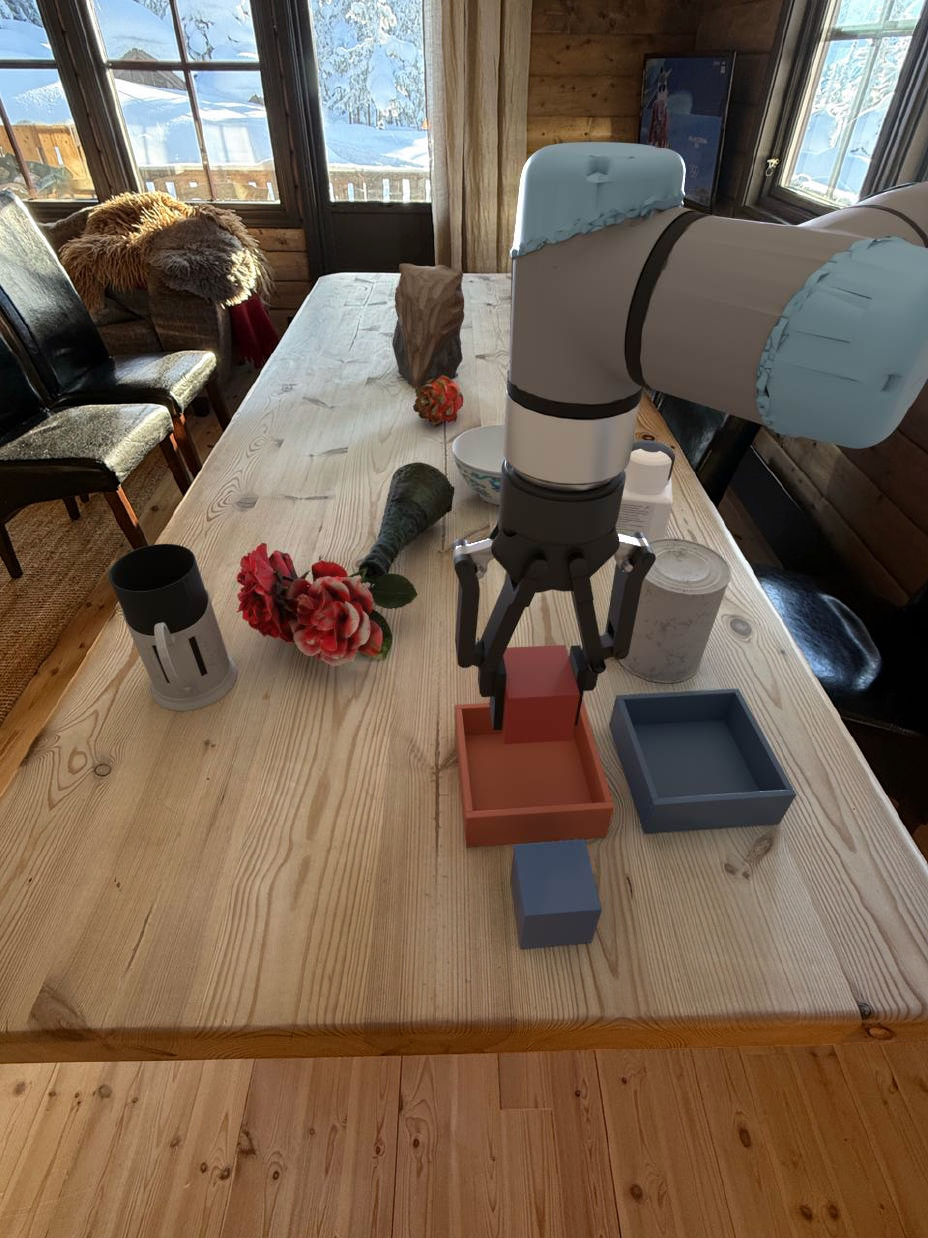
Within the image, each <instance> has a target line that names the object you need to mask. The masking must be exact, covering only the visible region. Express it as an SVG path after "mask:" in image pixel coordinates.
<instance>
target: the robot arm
mask: <svg viewBox="0 0 928 1238" xmlns="http://www.w3.org/2000/svg"><path fill="white" fill-rule="evenodd" d="M685 179H686V165H685V162H684V159H683V157H682V156H681V155H680V154H679V153H678V152H677V151H675V150H672V149H670V148H665V147H656V146H654V145H648V144H643V143H642V144H641V143H630V142H614V141H613V142H611V141H610V142H609V141H584V142H583V141H581V142H579V141H578V142H577V141H575V142H563V143H562V142H561V143H556V144H555V143H554V144H551V145H546V146H544V147H542V148H540V149H538V150H536V151H535V152H533V154H532V155H531V156H530V157H529V158H528V159H527V161H526V163H525V164H524V166H523V169H522V172H521V176H520V182H519V190H518V201H517V209H516V210H517V211H516V219H515V228H514V238H513V244H512V248H511V249H510V252H509V260H511V263H510V264H511V266H510V268H511V273H510V316H509V317H510V321H509V322H510V323H509V363H508V364H509V365H508V366H509V367H508V370H507V372H506V375H507V378H506V391H505V392H506V393H505V405H504V407H505V408H504V422H503V423H504V424H503V425H504V435H503V455H504V457H505V459H504V460H503V463H502V467H501V483H500V501H499V505H498V517H497V522H496V524H495V526H494V527H493V528H492V530H491V531H490V535H489V538H487V539H483V540H480V541H477V542H474V543H471V544H470V543H469V541H468V540H466V539H464V538H458V539H456V540H454V541H453V542H452V544H451V551H452V561H453V566H454V572H455V576H456V578H457V580H458V586H457V602H456V619H455V633H454V634H455V636H454V643H455V651H456V652H455V653H456V661H457V666H459V667H460V668H463V669H468V668H471V667H472V666H474V667H477V685H478V691H479V695H480V697H481V698H489V702H488V703H489V707H490V713H491V720H492V726H493V730H502V723H503V710H504V697H505V686H506V677H507V673H506V667H505V662H504V657H503V655H504V653H505V650H506V648H508V646H509V644H510V642H511V640H512V637H513V636H514V633H515V631H516V629H517V626H518V624H519V622H520V620H521V618H522V615H523V614H524V612H525V609H526V608H529V607H530V606H531V603H532V601H533V599H534V597H535V595H536V594H540V593H545V592H549V591H558V592H563V593H564V592H565V593H567V592H570V595H571V601H572V604H573V609H574V613H575V618H576V624H577V629H578V633H579V638H580V642H581V645H582V646H581V645H580V644H577V645H570V648H569V653H568V655H569V658H570V662H571V665H572V669H573V672H574V676H575V679H576V683H577V686H578V690H579V693H580V697H579V703H578V708H577V713H576V718H575V723H574V725H577V724H578V719H579V714H580V709H581V704H582V699H583V697H584V693H585V692H591V691H594V690H595V688H596V687H597V684H598V679H599V675H600V674H603V673H604V672H606V670H607V664H606V660H608V659H610V658H614V660H618V661H619V660H621V659H624V658H626V657H627V656H628V654H629V650H630V644H631V639H632V634H633V629H634V624H635V619H636V613H637V608H638V603H639V598H640V593H641V588H642V583H643V580H644V578H645V577H646V575H647V574H648V572H649V570H650V569H651V567H652V566H653V564H654V562H655V560H656V556H655V554H654V552H653V550H652V548H651V546H650V544H649V542H648V540H647V538H646V536H645V535H644V534H643V533H641V532H636V533H633V534H632V535H631V536H630V537H628V536H624V535H620V534H618V533H617V531H616V523H617V521H618V516H619V511H620V506H621V501H622V496H623V490H624V485H625V480H626V473H625V470H624V469H626V468H627V466H628V463H629V461H630V456H631V451H632V445H633V442H634V440H635V434H636V428H637V422H638V417H639V411H640V407H641V406H640V405H641V402H642V401H641V400H642V398H643V391H644V388H645V389H647V390H651V391H657V392H661V393H664V394H666V395H670V396H672V397H676V398H679V399H682V400H685V401H688V402H691V403H694V404H697V405H700V406H704V407H707V408H710V409H713V410H716V411H718V412H722V413H726V414H728V415H731V416H735V417H738V418H740V419H744V420H746V421H750V422H753V423H755V424H758V425H762V426H764V427H767V428H768V429H770V430H773V432H775V434H779V435H782V436H787V437H790V438H805V439H809V440H814V441H817V442H818V441H819V442H823V443H827V444H831V445H836V446H840V447H844V448H848V449H856V450H857V449H866V448H870V447H873V446H876V445H877V444H879V443H881V442H883V441H884V440H886V439H887V438H888V437H889V436H891V435H892V434H893V433H894V431H895V430H897V428H898V426H899V425H900V424H901V422H902V420H903V419H904V417H905V416H906V414H907V412H908V410H909V408H911V407H912V406H913V404H914V402H915V401H916V399H917V398H918V396H919V394H920V392H921V390H922V389H923V387H924V386H925V384H926V382H927V380H928V180H926V181H922V182H916V181H913V182H906V183H904V184H899V185H896V186H892V187H888V188H886V189H883V190H879V191H877V192H874V193H871V194H869V195H866V196H864V197H862V198H861V199H860V200H858V201H857V202H855V203H854V204H851V205H850V206H847V207H843V208H839V209H836V210H834V211H832V212H829V213H826V214H824V215H821V216H817V217H815V218H813V219H810V220H808V221H804V222H802V223H799V224H797V225H791V224H781V223H780V224H779V223H772V222H765V221H763V222H762V221H757V220H748V219H740V218H731V217H724V216H715V215H712V214H709V213H703V212H699V211H698V210H696V209H691V208H686V207H684V205H685V204H684V202H683V201H684V198H685V197H686V193H685ZM612 557H613V558H614V560H615V566H614V567H615V568H614V574H613V579H612V586H611V591H610V592H611V593H610V599H609V605H608V610H607V611H608V612H607V618H606V624H605V632H604V634H603V633H602V634H600V630H599V625H598V620H597V619H598V618H597V614H596V609H595V604H594V603H595V602H594V599H595V598H594V594H593V593H594V592H593V588H592V582H591V578H592V576H594V575H595V574H596V573H597V572H598V571H599V570H600V569H601V568H602V567H603V566H604V565H605V564H606V563H607V562H608V561H609V560H610V559H611V558H612ZM494 559H495V561H497V563H498V564H499V565H500V566H501V567H502V568H503V570H505V575H504V583H503V585H502V587H501V590H500V592H499V595H498V597H497V599H496V601H495V604H494V606H493V609H492V612H491V613H490V616H489V619H488V620H487V623H486V625H485V627H484V630H483V633H482V635H481V638H480V637H477V630H478V619H479V610H480V609H479V608H480V598H481V588H480V581H479V580H482V579H483V578H484V577H485V574H486V573H487V572H488V564H489V563H490V561H492V560H494Z"/></svg>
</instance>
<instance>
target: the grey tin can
mask: <svg viewBox="0 0 928 1238" xmlns="http://www.w3.org/2000/svg"><path fill="white" fill-rule="evenodd" d="M649 544H650V546H651V548H652V550H653V552H654V554H655V556H656V560H655V562H654V564H653V566H652V567H651V569H650V570H649V572H648V574H647V575H646V577H645V578H644V580H643V583H642V588H641V593H640V598H639V603H638V608H637V613H636V619H635V624H634V629H633V634H632V639H631V644H630V650H629V654H628V656H627V657H626V658H624V659H621V660H618V662H619V663H620V665H621V666H623V668H625V669H626V670H627V671H628V672H630V674H632V675H634V676H636V677H638V678H640V679H643V680H646V681H648V682H652V683H658V684H677V683H682V682H684V681H687V680H689V679H691V678H692V677H693V676H694V675H696V674H697V673H698V671H699V669H700V668H701V664H702V659H703V656H704V652H705V650H706V648H707V645H708V642H709V639H710V636H711V634H712V631H713V627H714V624H715V622H716V619H717V616H718V613H719V610H720V607H721V605H722V601H723V599H724V596H725V593H726V590H727V587H728V584H729V583H730V581H731V578H732V570H731V566H730V564H729V562H728V561H727V559H726V558H724V557H723V555H722V554H720V552H718V551H716V550H715V549H713V548H711V547H710V546H707V545H706V544H703V543H700V542H697V541H694V540H690V539H685V538H676V537H664V538H662V539H655V540H652V541H649Z"/></svg>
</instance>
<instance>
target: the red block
mask: <svg viewBox="0 0 928 1238" xmlns="http://www.w3.org/2000/svg"><path fill="white" fill-rule="evenodd" d="M503 657H504V662H505V667H506V673H507V677H506V686H505V697H504V710H503V723H502V735H503V742H504V744H518V743H535V742H552V741H570V740H571V739H572V734H573V729H574V723H575V718H576V713H577V708H578V703H579V697H580V693H579V690H578V686H577V683H576V679H575V676H574V672H573V669H572V665H571V662H570V658H569V651H568V647H567V645H566V644H551V645H533V646H532V645H531V646H512V647H511V646H509V647H508V646H507V648H506V650H505V653H504V655H503Z"/></svg>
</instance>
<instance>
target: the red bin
mask: <svg viewBox="0 0 928 1238" xmlns="http://www.w3.org/2000/svg"><path fill="white" fill-rule="evenodd" d="M454 739H455V741H454V742H455V749H456V761H457V762H456V763H457V770H458V771H457V772H458V784H459V792H460V803H461V813H462V824H463V833H464V845H465V848H476V847H477V848H478V847H489V846H502V845H504V846H505V845H516V844H530V843H543V842H557V841H571V840H585V839H599V838H607V836H608V832H609V829H610V825H611V822H612V818H613V814H614V810H615V808H616V807H615V804H614V802H613V798H612V794H611V790H610V788H609V785H608V784H609V783H608V780H607V777H606V774H605V771H604V767H603V764H602V760H601V757H600V754H599V751H598V746H597V744H596V740H595V737H594V734H593V730H592V727H591V722H590V720H589V717H588V713H587V710H586V706H585V703H584V700H583V698H582V704H581V709H580V714H579V719H578V724H577V725H574V729H573V734H572V739H571V740H570V741H552V742H535V743H518V744H504V742H503V735H502V730H493V726H492V720H491V713H490V707H489V702H476V703H458V704H457V703H456V704H455V705H454Z"/></svg>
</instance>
